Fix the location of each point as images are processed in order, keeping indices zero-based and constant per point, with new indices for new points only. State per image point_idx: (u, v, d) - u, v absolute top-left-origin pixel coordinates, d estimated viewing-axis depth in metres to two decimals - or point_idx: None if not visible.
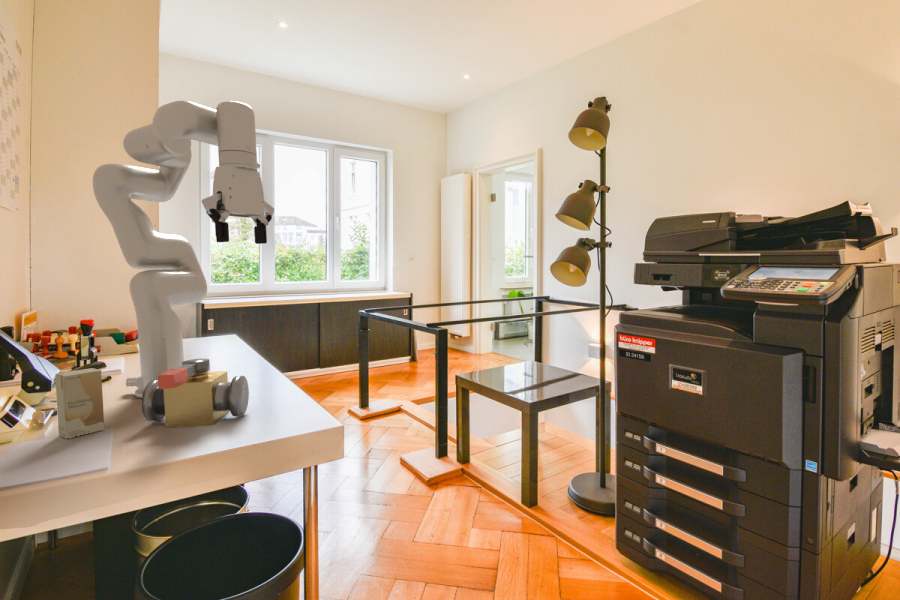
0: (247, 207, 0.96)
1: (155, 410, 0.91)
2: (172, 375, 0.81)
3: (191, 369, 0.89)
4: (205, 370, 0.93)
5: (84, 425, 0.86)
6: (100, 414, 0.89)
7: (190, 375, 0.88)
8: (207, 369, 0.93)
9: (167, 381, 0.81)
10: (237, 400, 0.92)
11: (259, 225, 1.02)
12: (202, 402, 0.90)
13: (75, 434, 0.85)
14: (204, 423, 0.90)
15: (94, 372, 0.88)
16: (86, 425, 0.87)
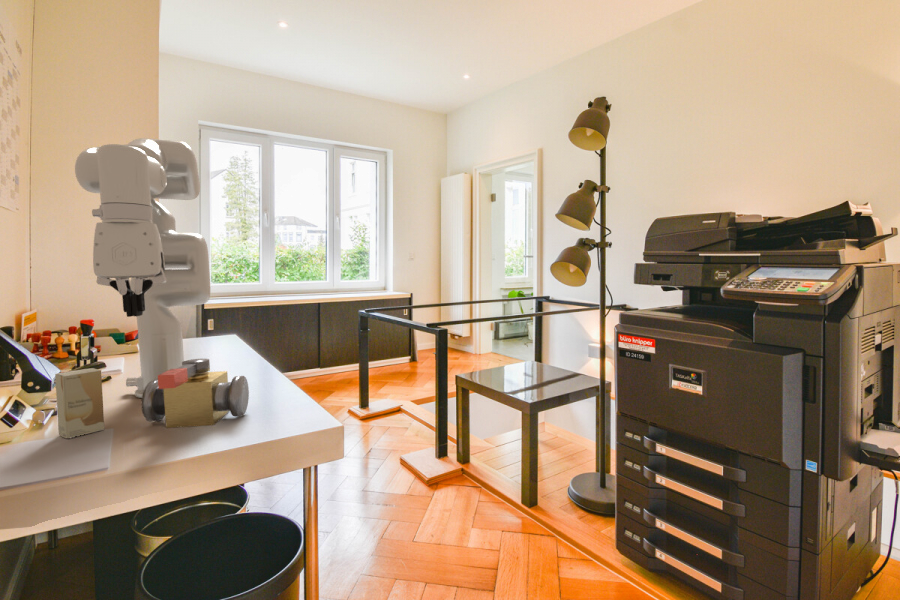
0: None
1: (155, 410, 0.91)
2: (172, 375, 0.81)
3: (191, 369, 0.89)
4: (205, 370, 0.93)
5: (84, 425, 0.86)
6: (100, 414, 0.89)
7: (190, 375, 0.88)
8: (207, 369, 0.93)
9: (167, 381, 0.81)
10: (237, 400, 0.92)
11: (132, 294, 0.83)
12: (202, 402, 0.90)
13: (75, 434, 0.85)
14: (204, 423, 0.90)
15: (94, 372, 0.88)
16: (86, 425, 0.87)
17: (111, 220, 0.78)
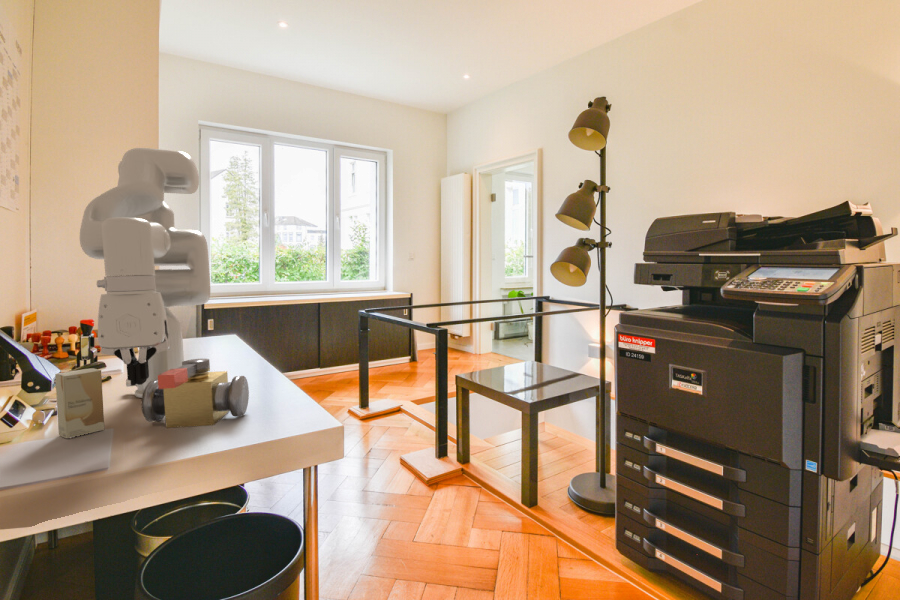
0: None
1: (155, 410, 0.91)
2: (172, 375, 0.81)
3: (191, 369, 0.89)
4: (205, 370, 0.93)
5: (84, 425, 0.86)
6: (100, 414, 0.89)
7: (190, 375, 0.88)
8: (207, 369, 0.93)
9: (167, 381, 0.81)
10: (237, 400, 0.92)
11: (136, 361, 0.84)
12: (202, 402, 0.90)
13: (75, 434, 0.85)
14: (204, 423, 0.90)
15: (94, 372, 0.88)
16: (86, 425, 0.87)
17: (115, 293, 0.79)
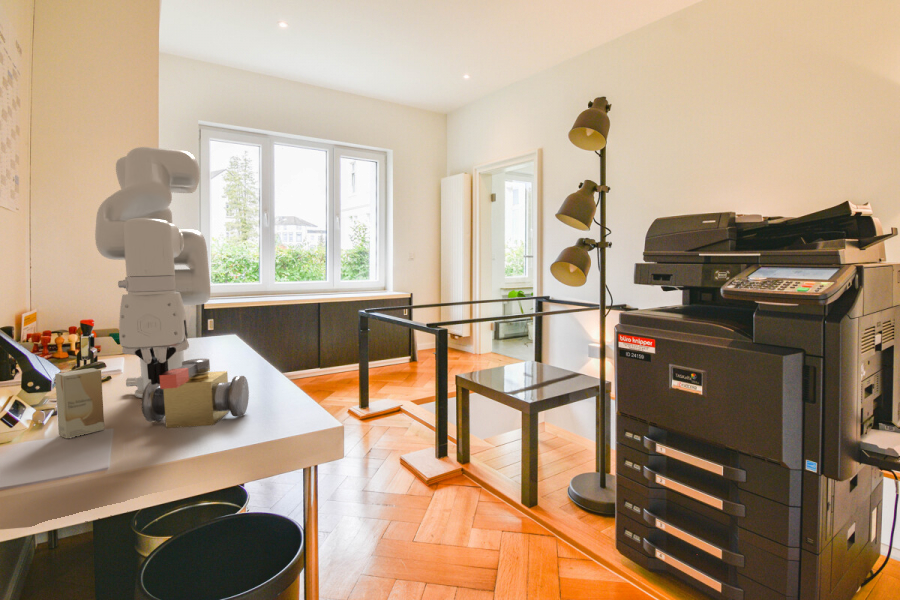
0: None
1: (155, 410, 0.91)
2: (174, 375, 0.81)
3: (192, 369, 0.89)
4: (205, 370, 0.93)
5: (84, 425, 0.86)
6: (100, 414, 0.89)
7: (191, 375, 0.88)
8: (207, 369, 0.93)
9: (169, 381, 0.81)
10: (237, 400, 0.92)
11: (156, 361, 0.84)
12: (202, 402, 0.90)
13: (75, 434, 0.85)
14: (204, 423, 0.90)
15: (94, 372, 0.88)
16: (86, 425, 0.87)
17: (137, 293, 0.80)
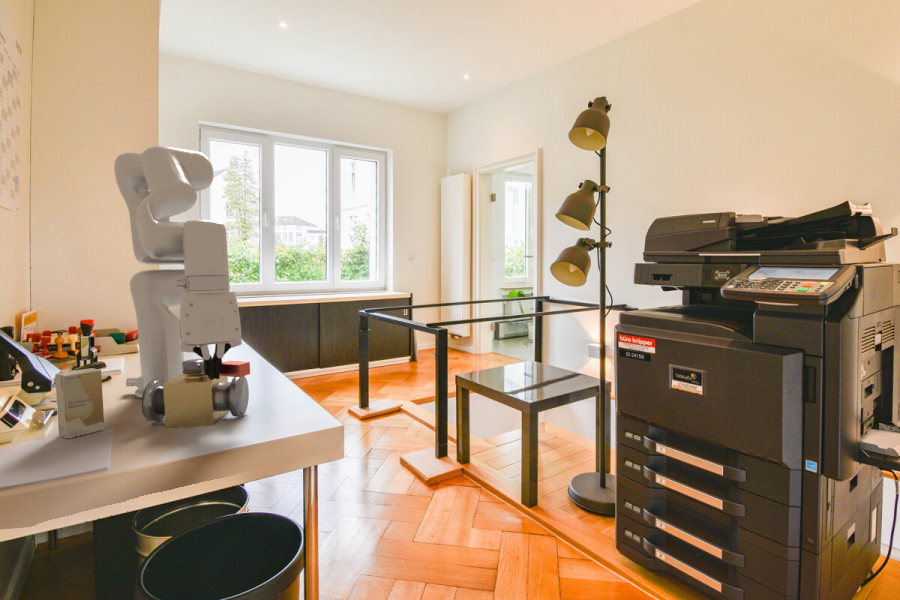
0: None
1: (155, 410, 0.91)
2: (248, 363, 0.91)
3: None
4: None
5: (84, 425, 0.86)
6: (100, 414, 0.89)
7: None
8: None
9: (245, 369, 0.90)
10: (237, 400, 0.92)
11: None
12: (202, 402, 0.90)
13: (75, 434, 0.85)
14: (204, 423, 0.90)
15: (94, 372, 0.88)
16: (86, 425, 0.87)
17: (203, 292, 0.83)
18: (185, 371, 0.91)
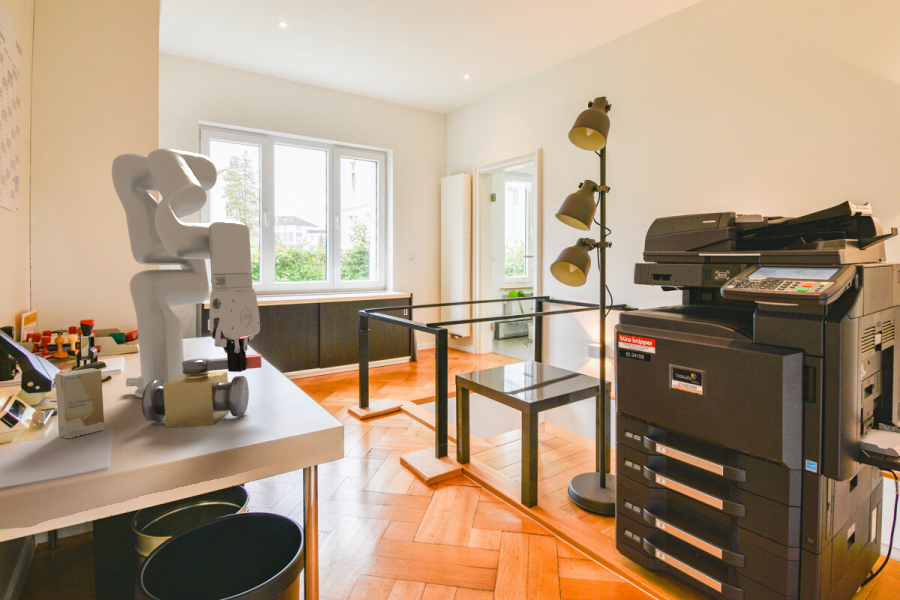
0: None
1: (155, 410, 0.91)
2: (260, 354, 0.99)
3: None
4: None
5: (84, 425, 0.86)
6: (100, 414, 0.89)
7: None
8: None
9: (261, 360, 0.98)
10: (237, 400, 0.92)
11: None
12: (202, 402, 0.90)
13: (75, 434, 0.85)
14: (204, 423, 0.90)
15: (94, 372, 0.88)
16: (86, 425, 0.87)
17: (243, 288, 0.90)
18: (193, 371, 0.91)
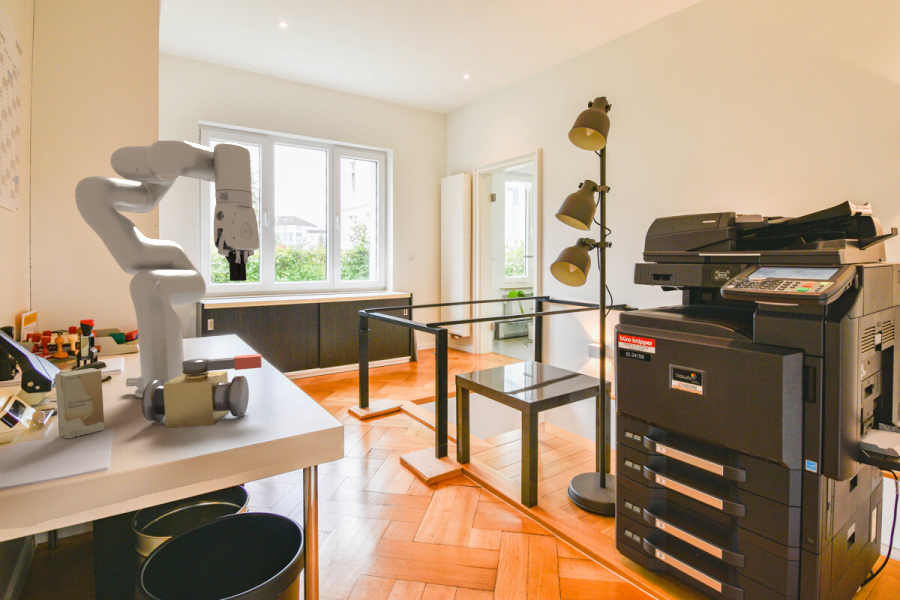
0: None
1: (155, 410, 0.91)
2: (260, 354, 0.99)
3: None
4: None
5: (84, 425, 0.86)
6: (100, 414, 0.89)
7: None
8: None
9: (261, 360, 0.98)
10: (237, 400, 0.92)
11: None
12: (202, 402, 0.90)
13: (75, 434, 0.85)
14: (204, 423, 0.90)
15: (94, 372, 0.88)
16: (86, 425, 0.87)
17: (243, 204, 1.00)
18: (193, 371, 0.91)
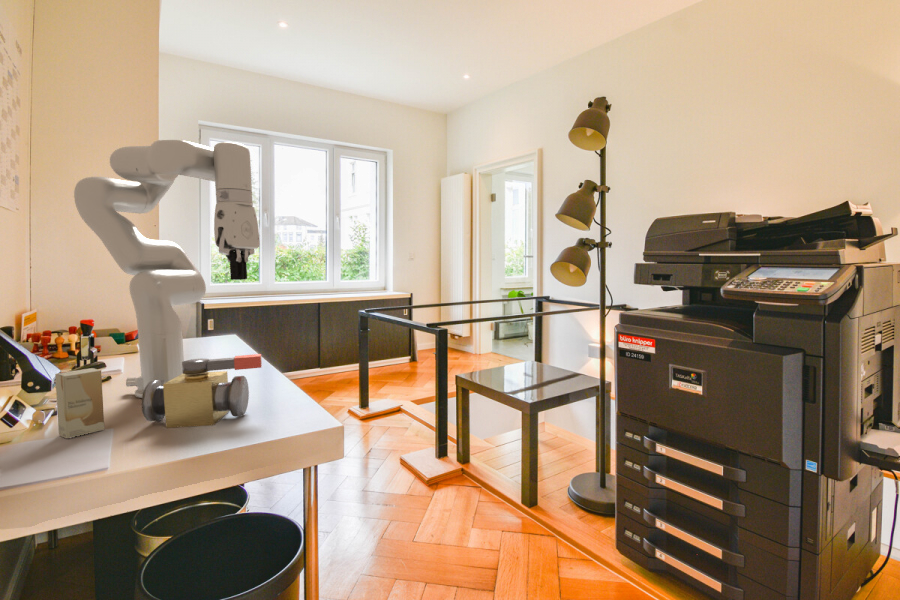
0: None
1: (155, 410, 0.91)
2: (260, 354, 0.99)
3: None
4: None
5: (84, 425, 0.86)
6: (100, 414, 0.89)
7: None
8: None
9: (261, 360, 0.98)
10: (237, 400, 0.92)
11: None
12: (202, 402, 0.90)
13: (75, 434, 0.85)
14: (204, 423, 0.90)
15: (94, 372, 0.88)
16: (86, 425, 0.87)
17: (244, 203, 1.00)
18: (193, 371, 0.91)
